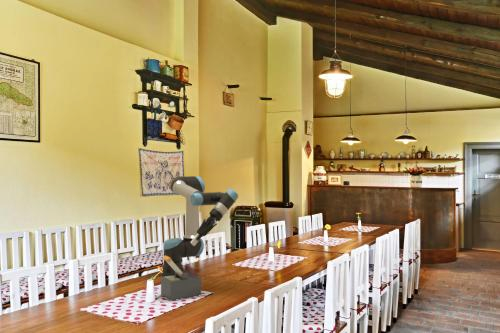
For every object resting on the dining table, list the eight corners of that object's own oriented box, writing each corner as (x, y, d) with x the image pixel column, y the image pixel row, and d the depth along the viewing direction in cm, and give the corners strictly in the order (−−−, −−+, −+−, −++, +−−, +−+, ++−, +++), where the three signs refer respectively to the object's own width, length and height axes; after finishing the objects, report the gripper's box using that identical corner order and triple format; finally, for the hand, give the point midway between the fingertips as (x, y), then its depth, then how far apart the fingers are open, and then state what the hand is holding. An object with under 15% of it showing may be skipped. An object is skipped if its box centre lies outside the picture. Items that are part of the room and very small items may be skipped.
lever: (178, 275, 249) (162, 257, 244) (180, 273, 250) (164, 255, 244) (183, 278, 243) (167, 260, 238) (186, 275, 244) (170, 257, 239)
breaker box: (160, 295, 246) (161, 271, 246) (190, 290, 256) (190, 267, 256) (170, 300, 235) (170, 276, 235) (201, 295, 245) (201, 272, 245)
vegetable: (183, 293, 262) (177, 269, 259) (181, 286, 272) (176, 263, 269) (201, 287, 264) (195, 264, 262) (198, 281, 274) (193, 258, 271)
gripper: (227, 217, 253) (201, 250, 244) (217, 215, 264) (191, 246, 255) (219, 208, 250) (192, 241, 241) (208, 207, 261) (183, 238, 252)
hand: (192, 244), depth 248 cm, fingers closed
